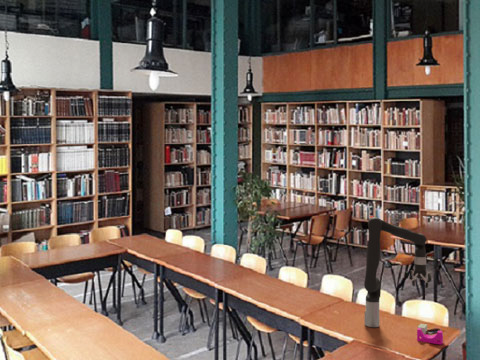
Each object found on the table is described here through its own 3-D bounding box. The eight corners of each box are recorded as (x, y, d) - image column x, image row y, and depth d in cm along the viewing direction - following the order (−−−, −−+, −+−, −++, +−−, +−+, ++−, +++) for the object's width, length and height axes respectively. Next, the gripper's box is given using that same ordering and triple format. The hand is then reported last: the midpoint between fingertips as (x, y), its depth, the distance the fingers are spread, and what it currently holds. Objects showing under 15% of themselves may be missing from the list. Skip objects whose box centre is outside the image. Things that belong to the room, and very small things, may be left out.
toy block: (443, 341, 348) (443, 330, 348) (441, 344, 343) (441, 332, 343) (418, 338, 355) (418, 326, 355) (417, 341, 350) (417, 329, 350)
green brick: (420, 323, 370) (420, 330, 371) (417, 327, 363) (417, 334, 363) (427, 324, 368) (427, 331, 368) (424, 328, 360) (424, 335, 361)
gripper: (407, 262, 370) (407, 286, 370) (428, 265, 361) (428, 289, 361) (412, 261, 375) (412, 284, 376) (432, 263, 366) (432, 287, 367)
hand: (420, 287), depth 369 cm, fingers open, 8 cm apart
